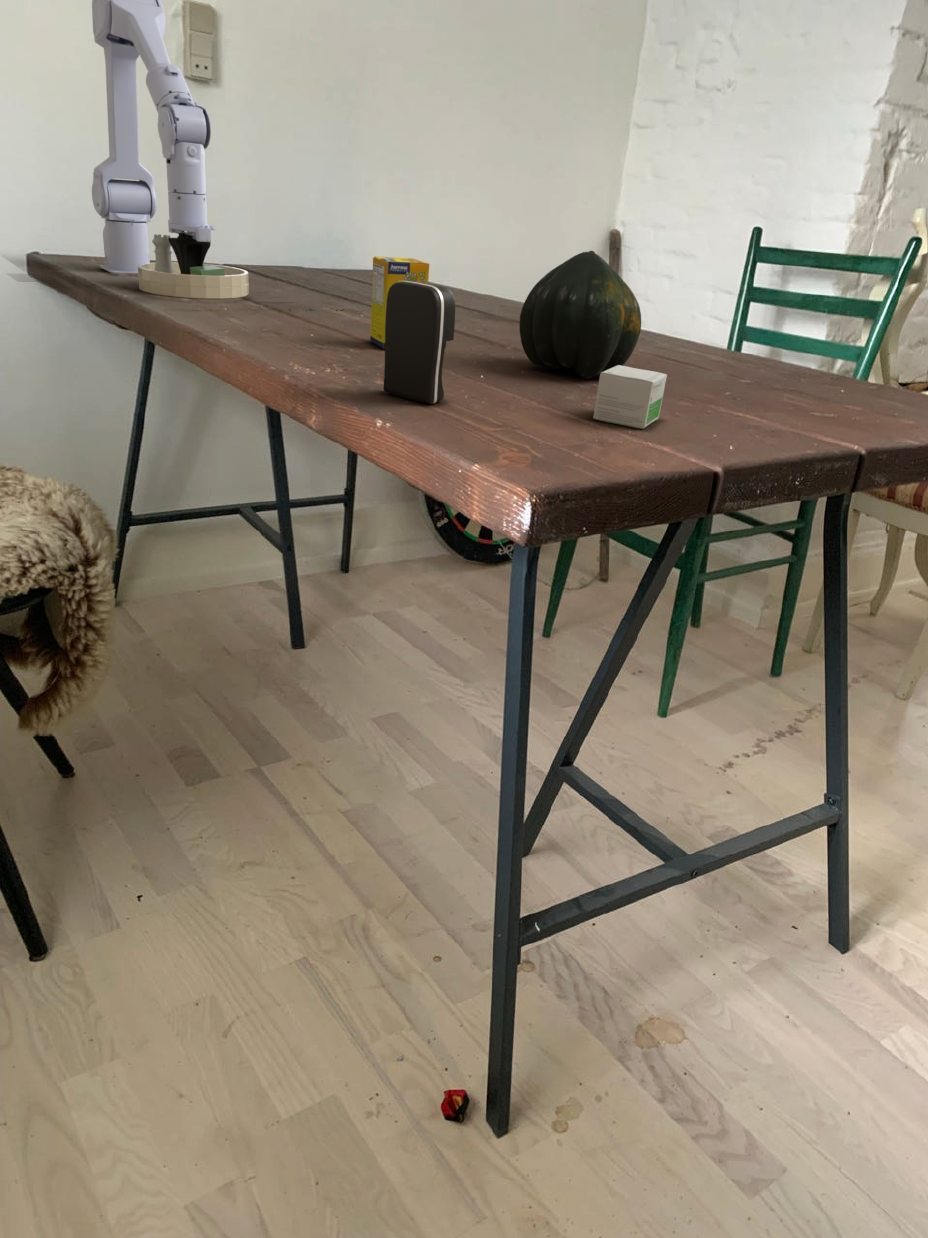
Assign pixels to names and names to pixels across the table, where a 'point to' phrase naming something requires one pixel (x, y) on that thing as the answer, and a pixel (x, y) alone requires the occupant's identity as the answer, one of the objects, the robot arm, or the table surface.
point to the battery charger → (417, 339)
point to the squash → (580, 318)
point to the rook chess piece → (163, 254)
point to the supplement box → (382, 280)
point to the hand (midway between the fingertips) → (191, 285)
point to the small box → (629, 396)
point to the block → (207, 270)
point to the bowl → (194, 283)
